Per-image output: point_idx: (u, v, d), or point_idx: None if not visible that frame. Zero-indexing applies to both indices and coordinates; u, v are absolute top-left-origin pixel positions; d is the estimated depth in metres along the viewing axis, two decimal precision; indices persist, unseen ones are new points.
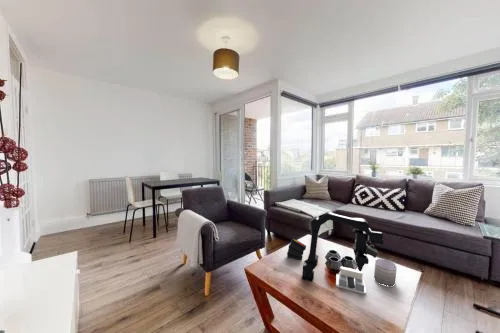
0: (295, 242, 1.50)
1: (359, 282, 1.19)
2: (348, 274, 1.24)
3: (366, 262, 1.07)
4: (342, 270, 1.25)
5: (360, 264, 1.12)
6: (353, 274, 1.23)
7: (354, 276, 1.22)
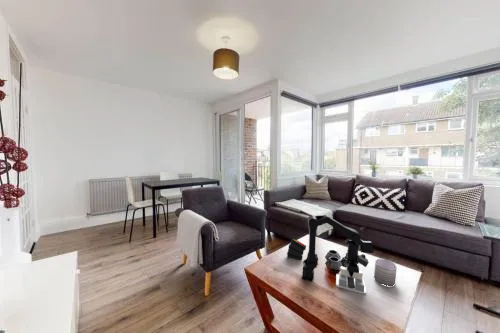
0: (295, 242, 1.50)
1: (359, 282, 1.19)
2: (348, 274, 1.24)
3: (357, 271, 1.14)
4: (342, 270, 1.25)
5: None
6: (353, 274, 1.23)
7: (354, 276, 1.22)
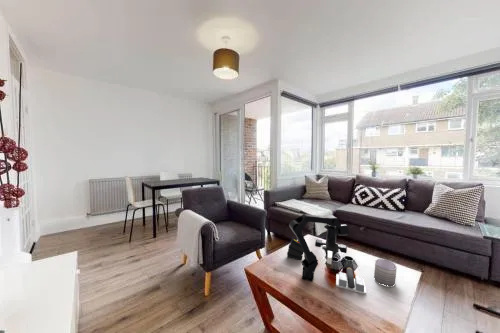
0: (295, 242, 1.50)
1: (359, 282, 1.19)
2: None
3: (315, 244, 1.32)
4: None
5: None
6: None
7: None
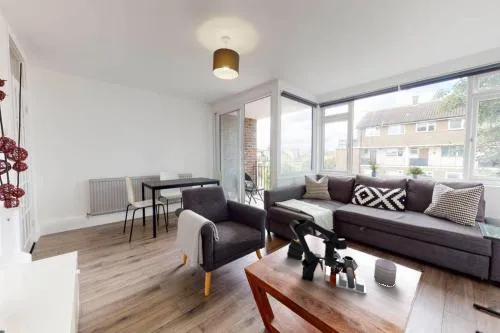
0: (295, 242, 1.50)
1: (359, 282, 1.19)
2: None
3: None
4: (326, 267, 1.37)
5: None
6: None
7: None
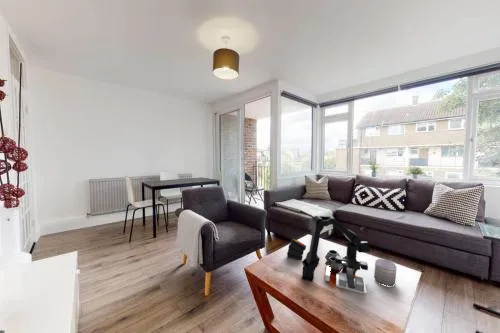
0: (295, 242, 1.50)
1: (359, 282, 1.19)
2: None
3: (335, 261, 1.32)
4: None
5: None
6: None
7: None
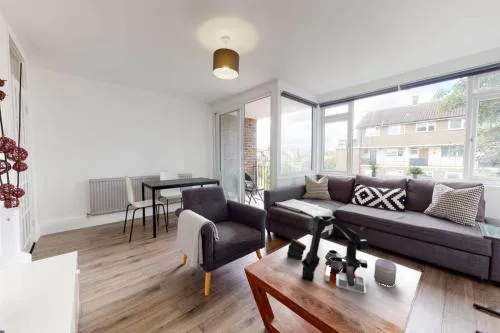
0: (295, 242, 1.50)
1: (359, 282, 1.19)
2: None
3: (335, 259, 1.34)
4: None
5: None
6: None
7: None
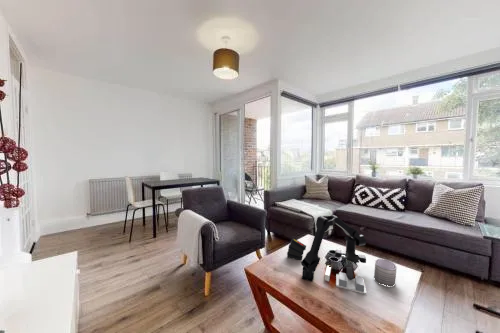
0: (295, 242, 1.50)
1: (359, 282, 1.19)
2: None
3: (335, 254, 1.40)
4: None
5: None
6: None
7: None
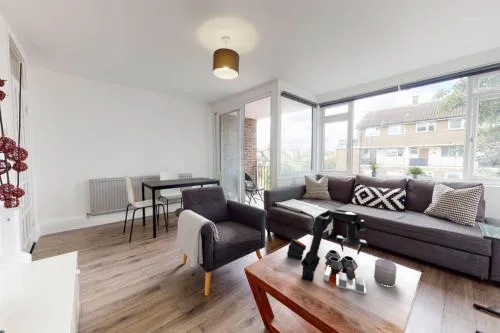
0: (295, 242, 1.50)
1: (359, 282, 1.19)
2: None
3: (336, 240, 1.40)
4: (327, 267, 1.37)
5: (341, 244, 1.41)
6: None
7: None
